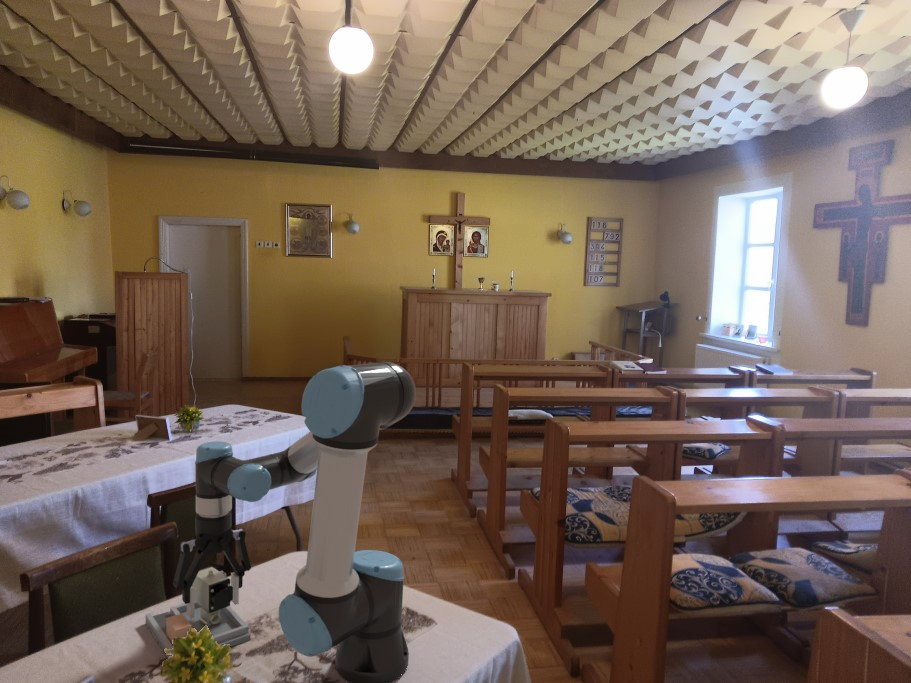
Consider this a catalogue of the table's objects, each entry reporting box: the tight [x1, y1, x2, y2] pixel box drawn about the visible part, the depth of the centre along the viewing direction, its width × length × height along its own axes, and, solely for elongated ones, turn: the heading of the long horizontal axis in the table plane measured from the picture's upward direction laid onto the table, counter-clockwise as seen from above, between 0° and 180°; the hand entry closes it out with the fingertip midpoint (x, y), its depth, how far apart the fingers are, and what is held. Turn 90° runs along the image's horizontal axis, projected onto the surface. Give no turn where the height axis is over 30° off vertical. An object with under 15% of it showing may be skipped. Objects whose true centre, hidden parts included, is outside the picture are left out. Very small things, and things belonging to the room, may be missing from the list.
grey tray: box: [145, 601, 251, 658], centre depth 139 cm, size 20×16×4 cm
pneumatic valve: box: [192, 565, 233, 627], centre depth 141 cm, size 6×12×12 cm, turn 48°
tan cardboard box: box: [166, 614, 191, 646], centre depth 133 cm, size 6×3×4 cm, turn 41°
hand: (213, 608), depth 141 cm, fingers open, 9 cm apart
